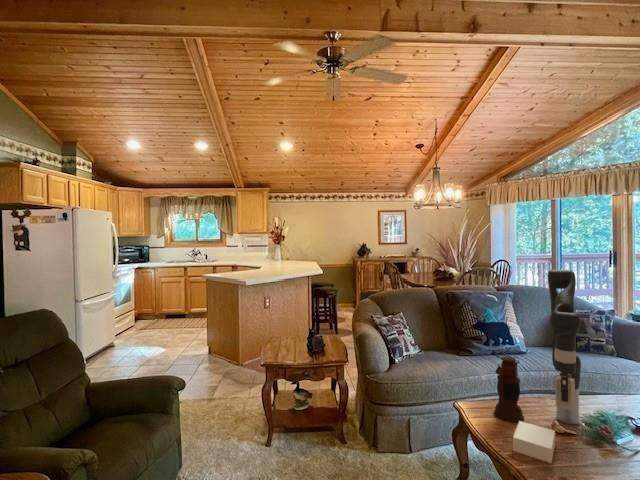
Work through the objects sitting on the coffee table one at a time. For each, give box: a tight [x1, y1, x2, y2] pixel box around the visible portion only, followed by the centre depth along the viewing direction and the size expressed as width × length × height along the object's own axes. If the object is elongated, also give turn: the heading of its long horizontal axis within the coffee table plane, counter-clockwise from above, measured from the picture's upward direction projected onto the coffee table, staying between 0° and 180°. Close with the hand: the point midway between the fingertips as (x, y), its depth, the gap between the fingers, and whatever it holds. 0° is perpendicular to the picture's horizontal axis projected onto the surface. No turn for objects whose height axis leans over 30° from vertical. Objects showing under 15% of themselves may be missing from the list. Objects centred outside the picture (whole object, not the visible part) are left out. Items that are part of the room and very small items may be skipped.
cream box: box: [512, 421, 556, 464], centre depth 157 cm, size 16×14×6 cm
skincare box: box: [554, 374, 575, 410], centre depth 152 cm, size 6×4×12 cm
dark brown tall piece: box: [493, 356, 525, 424], centre depth 182 cm, size 17×14×30 cm
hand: (565, 398), depth 152 cm, fingers closed on skincare box, 5 cm apart
